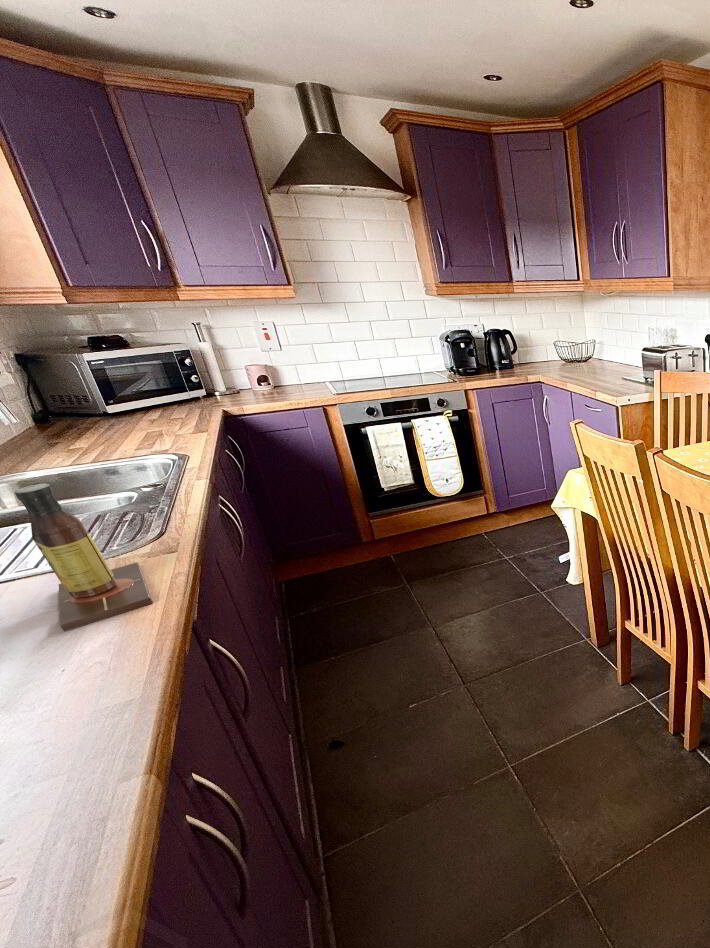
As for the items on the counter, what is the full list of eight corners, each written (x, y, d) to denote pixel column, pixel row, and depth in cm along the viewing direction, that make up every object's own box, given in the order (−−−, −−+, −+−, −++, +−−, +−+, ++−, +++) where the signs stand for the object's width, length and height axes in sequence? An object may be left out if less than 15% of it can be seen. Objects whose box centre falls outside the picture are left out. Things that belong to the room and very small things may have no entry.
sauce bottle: (84, 586, 105) (23, 483, 97) (126, 580, 107) (69, 477, 99) (60, 604, 100) (-7, 496, 91) (105, 596, 101) (43, 489, 93)
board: (61, 589, 108) (58, 583, 107) (140, 567, 115) (137, 561, 114) (63, 631, 94) (59, 624, 93) (152, 603, 101) (149, 597, 100)
